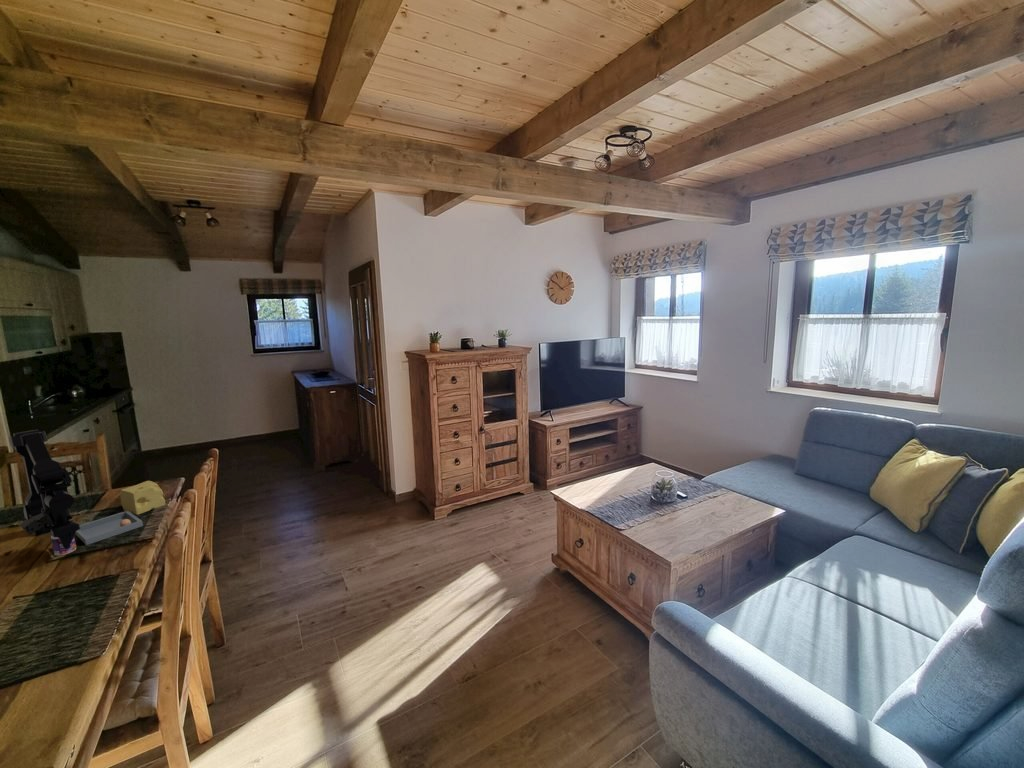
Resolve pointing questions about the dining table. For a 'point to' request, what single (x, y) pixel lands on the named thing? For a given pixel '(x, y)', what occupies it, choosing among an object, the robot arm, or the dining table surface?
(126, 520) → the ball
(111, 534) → the tray
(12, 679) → the dining table surface
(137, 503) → the cheese
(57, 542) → the pill bottle
